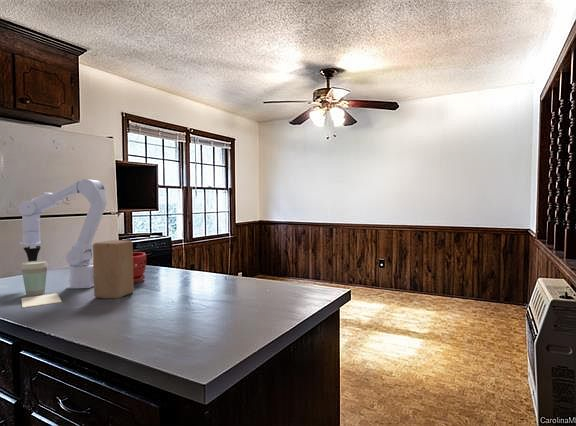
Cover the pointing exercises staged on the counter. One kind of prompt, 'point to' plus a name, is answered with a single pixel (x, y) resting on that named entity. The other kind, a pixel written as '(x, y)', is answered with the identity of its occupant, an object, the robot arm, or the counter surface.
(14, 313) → the counter surface
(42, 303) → the mat
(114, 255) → the wooden block
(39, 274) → the coffee cup
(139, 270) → the plant pot
